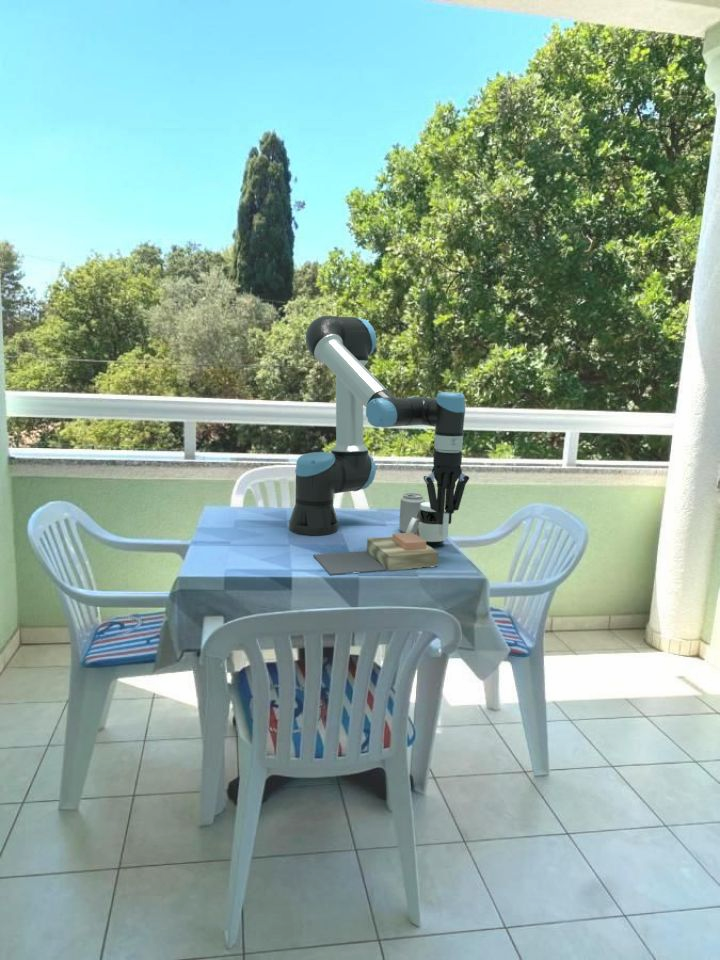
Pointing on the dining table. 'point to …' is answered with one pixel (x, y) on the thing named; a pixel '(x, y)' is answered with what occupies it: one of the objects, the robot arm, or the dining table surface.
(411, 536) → the light brown flat block
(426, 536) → the spread jar
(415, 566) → the wooden block
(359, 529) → the dining table surface
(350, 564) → the mat
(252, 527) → the dining table surface
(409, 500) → the can
